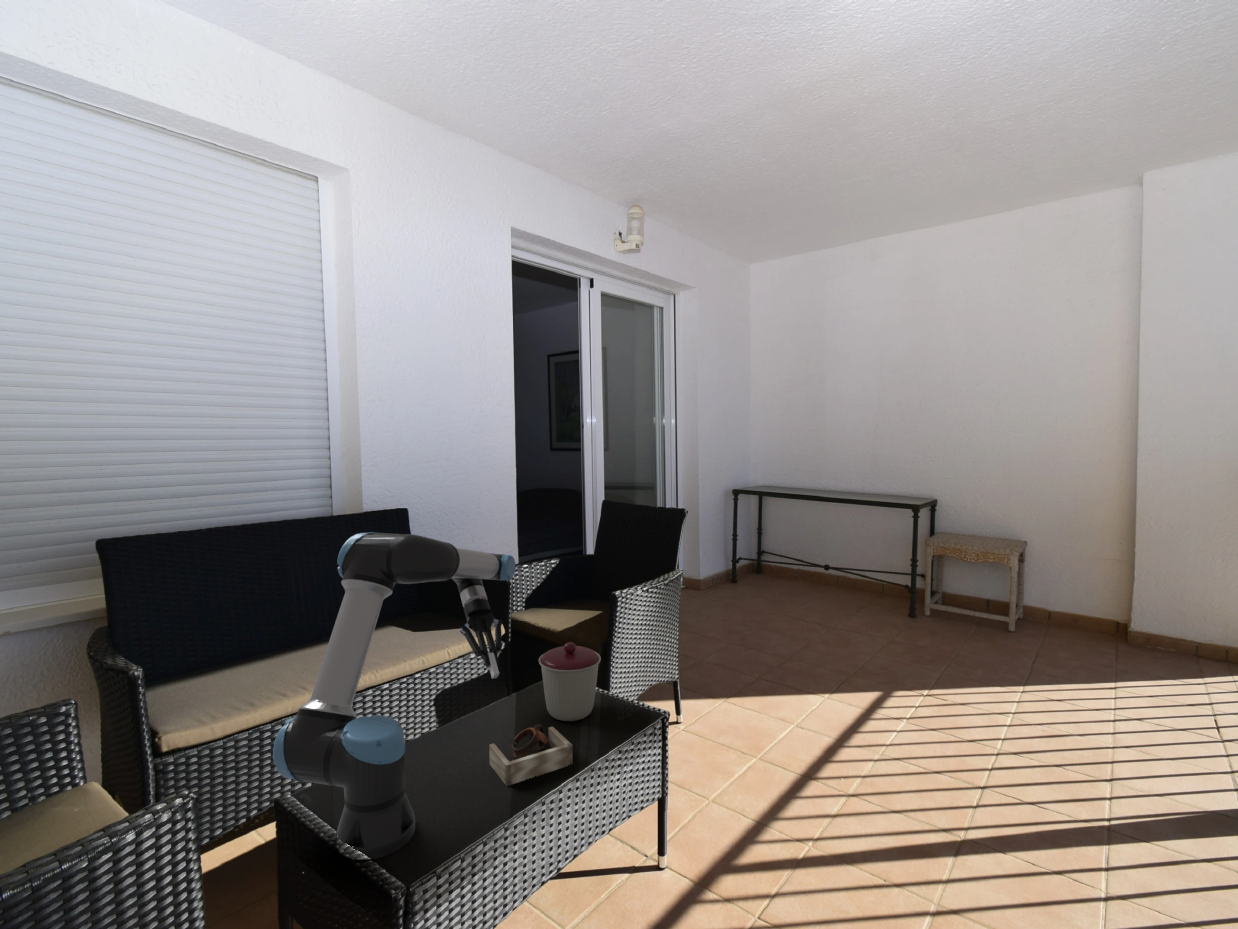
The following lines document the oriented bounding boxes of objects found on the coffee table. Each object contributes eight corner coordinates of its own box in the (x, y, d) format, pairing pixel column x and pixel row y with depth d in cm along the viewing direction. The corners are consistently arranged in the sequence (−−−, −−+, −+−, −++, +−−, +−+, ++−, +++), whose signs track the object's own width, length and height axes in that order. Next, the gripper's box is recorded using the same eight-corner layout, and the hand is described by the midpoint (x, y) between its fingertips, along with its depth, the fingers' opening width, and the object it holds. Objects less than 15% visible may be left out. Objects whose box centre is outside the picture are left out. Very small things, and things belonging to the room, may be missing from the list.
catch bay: (506, 786, 145) (506, 765, 144) (489, 764, 154) (489, 744, 154) (572, 764, 154) (572, 745, 154) (552, 744, 163) (552, 726, 163)
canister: (564, 735, 169) (563, 659, 167) (526, 712, 182) (526, 642, 181) (613, 714, 181) (613, 643, 179) (575, 694, 194) (574, 628, 193)
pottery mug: (552, 769, 153) (536, 745, 151) (520, 782, 155) (503, 758, 153) (560, 734, 164) (544, 710, 162) (529, 746, 166) (514, 723, 164)
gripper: (493, 607, 195) (513, 677, 181) (451, 613, 188) (470, 687, 174) (499, 594, 190) (520, 665, 176) (457, 600, 183) (476, 674, 170)
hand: (495, 676), depth 175 cm, fingers closed
